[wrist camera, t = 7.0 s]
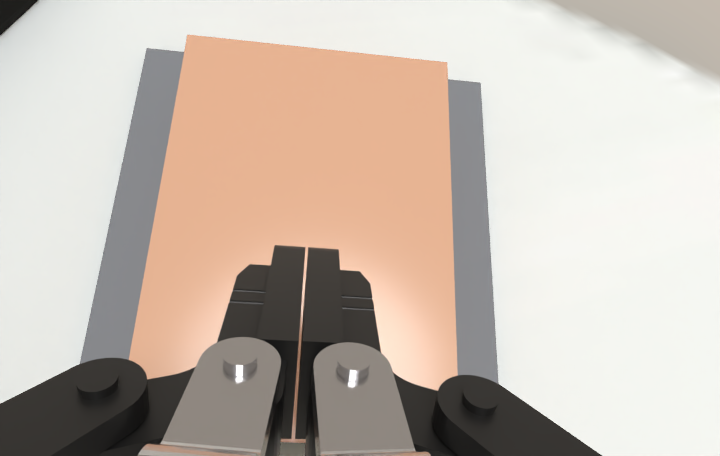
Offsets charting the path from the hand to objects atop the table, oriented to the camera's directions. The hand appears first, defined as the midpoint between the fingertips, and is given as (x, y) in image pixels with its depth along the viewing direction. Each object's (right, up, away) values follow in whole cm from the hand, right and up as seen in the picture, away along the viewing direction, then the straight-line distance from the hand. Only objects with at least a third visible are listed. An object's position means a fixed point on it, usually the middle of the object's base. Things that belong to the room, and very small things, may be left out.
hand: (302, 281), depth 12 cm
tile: (-1, -5, +4) cm, 7 cm away
